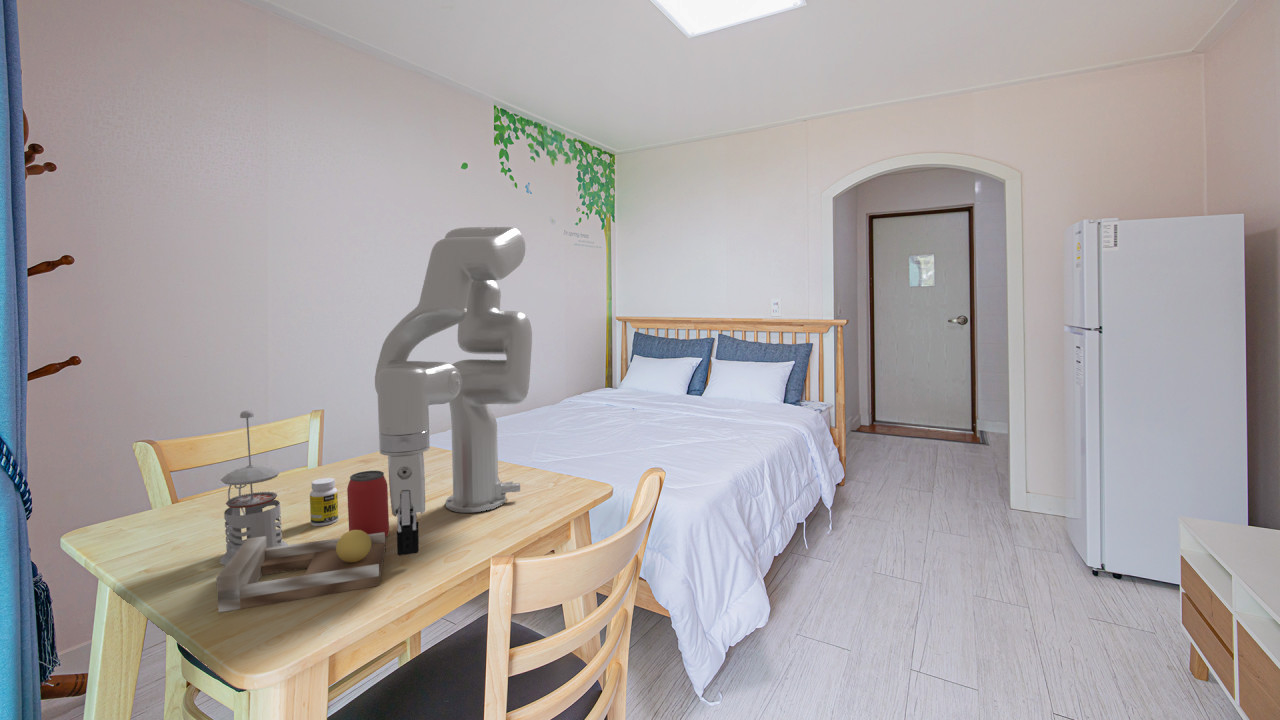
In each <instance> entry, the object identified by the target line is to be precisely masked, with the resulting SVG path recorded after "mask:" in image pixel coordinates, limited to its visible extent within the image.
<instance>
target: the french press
mask: <svg viewBox="0 0 1280 720" xmlns="http://www.w3.org/2000/svg"><path fill="white" fill-rule="evenodd" d="M239 417H240V419H246V436H247V449H248V450H247V451H248V452H247V453H248V465H247V466H243V467H240V468H237V469H234V470H233V471H229V473H226V475H224V476H223V477H222V478H221V479H220V481H221V482H222V483H223V484H225V485H228V486H229V488H228V490H227V496H228V497H227V501H226V503H225V505H226V506H227V507H228V508H227V509H225V510H224V512H223V513H224V514H223V516H224V518H223V519H224V520H225V521H224V527H225V529H224V531H225V542H226V544H225V546H226V552H225V553H224V554H223V555H222V556H221V558H220V559H219V563H220V564H221V565H223V566H226V565H227V564H228V563H229V561H230V560H231V559H232V558H233V556H234V555H235V554H236V552H237V551H238V550H239V549H240V547H241V546H242V545H243V544H244V542H245V541H246V540H247V539H248V538H255V537H263V536H266V545H267V548H270V547H277V546H285V545H289V544H288V543H287V542H285V540H283V536H282V535H283V533H282V516H281V502H280V501H279V500H277V499H276V498H277V496H278V494H277V493H276V492H274V491H258V492H254V491H253V484H258V483H263V482H268V481H270V480H273V479H275V478H277V477H278V476H279V474H280V470H278V469H276V468H275V467H274V468H273V467H271V466H267V465H254V464H252V462H251V461H252V460H251V458H252V457H251V445H250V442H251V441H250V430H249V429H250V426H249V419H250V418H254V417H255V414H254V412H253V411H252V410H243V411H242V412H240V415H239ZM247 485H250V492H249V493H244V494H242V493H241V492H242V491H241V489H243V488H245V487H246V486H247ZM232 486H234V488H235V489H237V490H238V495H237V496H234V497H232V498H231V495H230V494H231V487H232ZM271 506H274V507H273V508H270V509H266V510H264V508H266V507H271ZM241 512H242V514H243V515H241ZM276 528H277V529H276ZM242 529H246V531H244V532H242ZM243 537H246V538H245V539H243Z"/></svg>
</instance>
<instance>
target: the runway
mask: <svg viewBox="0 0 1280 720" xmlns="http://www.w3.org/2000/svg"><path fill="white" fill-rule="evenodd" d="M368 535H369V537H370V539H371V549H370V551H369V553H368V554H367V556H366V557H364V558H363V559H362V560H360V561H358V562H353V563H349V562H345V561H343V560H341V559H340V558H339V556H338V555H337V552H336V546H337V542H338V540H339V539H340V538H341V537H339V538H338V537H337V538H331V539H324V540H317V541H309V542H302V543H301V542H300V543H294V544H288V545H285V546H277V547H270V548H267V545H266V536H263V537H255V538H248V539H247V538H246V539H247V540H246V541H245V542H244V544H243V545H242V546H241V547H240V549H239V550H238V551H237V552H236V554H235V555H234V556H233V558H232V559H231V560H230V561H229V563H228V564H227V565H224V568H222V569H221V571H220V573H219V574H218V575H217V576H216V594H217V605H218V606H217V607H218V613H224V612H229V611H237V610H241V609H247V608H248V609H249V608H254V607H259V606H264V605H271V604H278V603H282V602H283V603H284V602H288V601H289V602H291V601H296V600H302V599H308V598H313V597H319V596H325V595H330V594H337V593H343V592H349V591H355V590H361V589H367V588H368V589H369V588H374V587H379V586H380V583H381V576H382V570H383V565H384V557H385V553H386V537H385V532H382V533H375V534H368ZM304 569H306V571H305V573H304V574H303V575H299V576H297V575H296V576H292V577H291V576H290V577H285V578H277V579H272V580H264V581H260V579H261V577H262V576H265V575H271V574H272V575H273V574H279V573H284V572H285V573H286V572H291V571H298V570H304Z"/></svg>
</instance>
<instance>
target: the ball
mask: <svg viewBox="0 0 1280 720" xmlns="http://www.w3.org/2000/svg"><path fill="white" fill-rule="evenodd" d="M339 538H340V539H339V540H338V542H337V546H336V552H337V555H338V556H339V558H340V559H341V560H343V561H345V562H349V563H353V562H358V561H360V560H362V559H363V558H364V557H366V556H367V554H368V553H369V551H370V549H371V539H370V537H369V535H368V534H367V533H366V532H364V531H361V530H351V531H349V530H348V531H347V532H345V533H343V535H342V536H340V537H339Z"/></svg>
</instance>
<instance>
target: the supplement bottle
mask: <svg viewBox="0 0 1280 720" xmlns="http://www.w3.org/2000/svg"><path fill="white" fill-rule="evenodd" d="M338 497H339V496H338V489H337V488H336V479H335V478H334V477H333V478H332V477H324V478H323V477H322V478H318V479H315V480H313V481H311V491H310V493H309V509H310V510H309V511H310V524H311V525H312V526H315V527H317V526H318V527H323V526H328V525H331V524H334V523H336V522H337V521H338V520H339V504H338V503H339V501H338V500H339V499H338Z"/></svg>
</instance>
